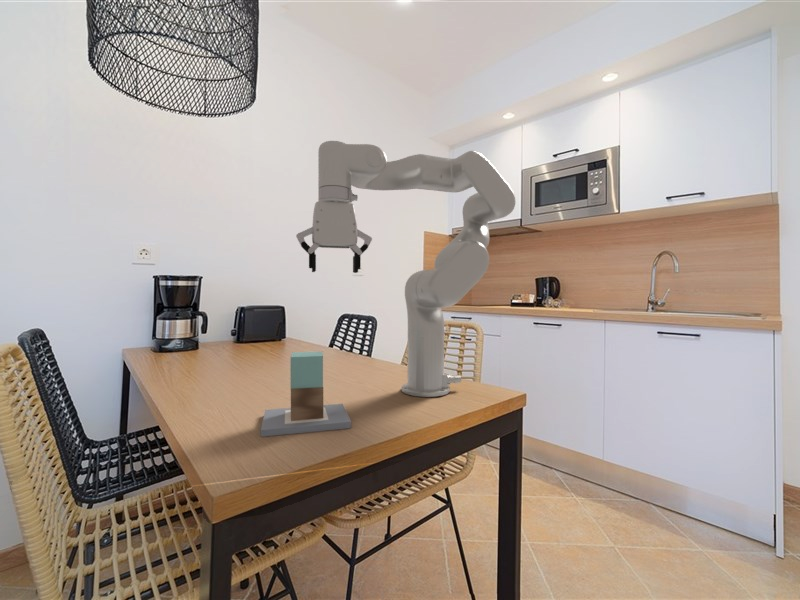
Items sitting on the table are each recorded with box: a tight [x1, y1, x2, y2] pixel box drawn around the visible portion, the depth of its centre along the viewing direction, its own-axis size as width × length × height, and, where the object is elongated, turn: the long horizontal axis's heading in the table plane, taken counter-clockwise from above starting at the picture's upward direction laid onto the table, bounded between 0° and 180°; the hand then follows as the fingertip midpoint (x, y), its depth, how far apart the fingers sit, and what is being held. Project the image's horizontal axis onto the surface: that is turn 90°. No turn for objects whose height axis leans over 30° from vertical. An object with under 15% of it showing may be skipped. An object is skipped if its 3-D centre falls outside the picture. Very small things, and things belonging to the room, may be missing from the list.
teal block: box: [289, 350, 324, 390], centre depth 74 cm, size 6×6×6 cm
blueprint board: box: [260, 403, 352, 438], centre depth 74 cm, size 16×12×1 cm
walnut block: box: [290, 386, 324, 421], centre depth 74 cm, size 6×6×6 cm
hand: (334, 272), depth 87 cm, fingers open, 9 cm apart
